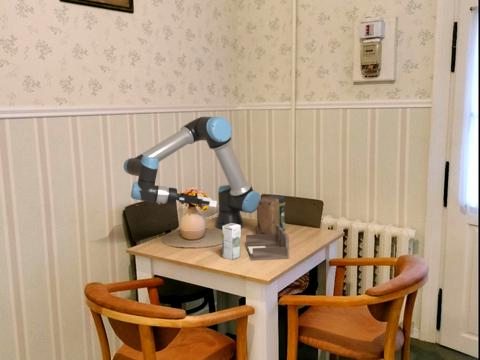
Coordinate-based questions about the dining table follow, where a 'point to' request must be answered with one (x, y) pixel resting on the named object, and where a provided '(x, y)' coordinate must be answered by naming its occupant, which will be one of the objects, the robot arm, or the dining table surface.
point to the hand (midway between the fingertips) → (213, 202)
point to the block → (268, 215)
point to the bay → (268, 245)
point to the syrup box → (231, 241)
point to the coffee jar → (281, 209)
